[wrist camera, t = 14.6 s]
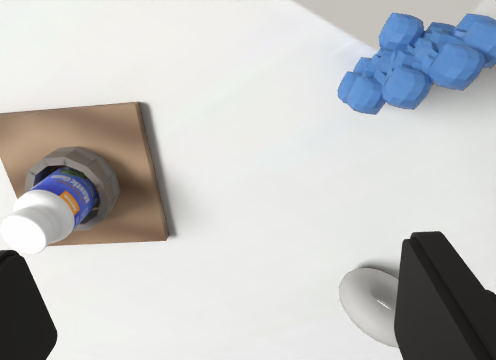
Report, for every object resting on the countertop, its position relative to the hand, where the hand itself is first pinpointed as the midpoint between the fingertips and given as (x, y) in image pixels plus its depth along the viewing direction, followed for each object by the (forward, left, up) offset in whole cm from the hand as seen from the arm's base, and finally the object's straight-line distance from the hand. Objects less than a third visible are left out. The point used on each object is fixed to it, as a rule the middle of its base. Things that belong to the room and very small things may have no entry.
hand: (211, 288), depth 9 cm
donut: (-24, -12, -28) cm, 39 cm away
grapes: (+2, -12, -28) cm, 31 cm away
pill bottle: (-9, +20, -27) cm, 35 cm away
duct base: (-9, +20, -28) cm, 36 cm away
